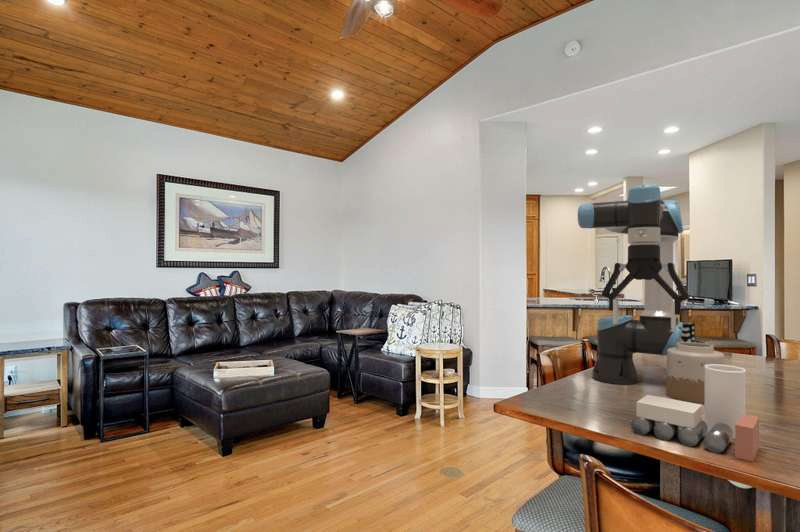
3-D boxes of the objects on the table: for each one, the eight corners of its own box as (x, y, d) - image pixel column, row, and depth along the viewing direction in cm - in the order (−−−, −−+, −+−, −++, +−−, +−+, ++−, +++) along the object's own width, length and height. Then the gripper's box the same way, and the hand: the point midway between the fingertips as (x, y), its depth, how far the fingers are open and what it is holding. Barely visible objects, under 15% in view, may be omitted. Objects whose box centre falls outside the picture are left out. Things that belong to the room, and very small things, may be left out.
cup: (696, 426, 115) (696, 364, 115) (726, 426, 115) (726, 363, 115) (722, 439, 106) (722, 371, 107) (754, 438, 107) (754, 371, 107)
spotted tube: (686, 379, 164) (686, 324, 164) (664, 374, 171) (664, 322, 172) (699, 377, 168) (699, 323, 168) (677, 372, 175) (677, 321, 175)
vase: (727, 397, 142) (728, 344, 142) (720, 408, 130) (720, 350, 131) (672, 388, 152) (672, 338, 152) (660, 397, 141) (661, 344, 141)
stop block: (735, 457, 96) (735, 424, 96) (742, 444, 103) (742, 414, 103) (752, 461, 94) (752, 428, 94) (759, 448, 101) (759, 417, 101)
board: (636, 416, 110) (636, 402, 110) (647, 408, 117) (647, 394, 117) (693, 428, 102) (693, 413, 102) (702, 419, 108) (702, 404, 108)
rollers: (631, 432, 110) (631, 416, 111) (643, 422, 118) (643, 407, 118) (725, 455, 97) (725, 436, 97) (733, 442, 104) (733, 425, 104)
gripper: (590, 245, 123) (589, 322, 123) (698, 242, 108) (698, 330, 107) (598, 246, 129) (597, 320, 129) (702, 243, 113) (702, 328, 113)
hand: (643, 325), depth 118 cm, fingers open, 13 cm apart
